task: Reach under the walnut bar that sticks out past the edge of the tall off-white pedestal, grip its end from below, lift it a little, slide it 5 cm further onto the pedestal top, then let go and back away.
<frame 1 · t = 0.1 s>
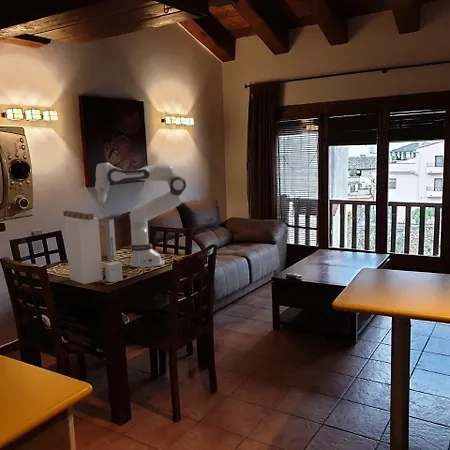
hand: (101, 208, 305), 39 cm above the table, tool pointing down, fingers open, 8 cm apart
walnut bar: (78, 217, 278), point 37 cm above the table, touching off-white pedestal
off-white pedestal: (86, 279, 280), on the table
cabinet: (110, 257, 341), on the table
small box: (114, 280, 276), on the table
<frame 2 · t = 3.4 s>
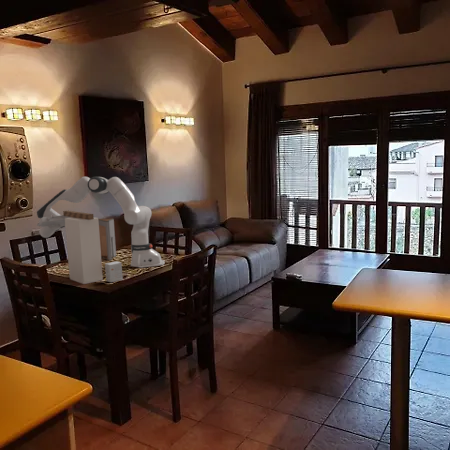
hand: (59, 215, 296), 37 cm above the table, tool pointing upward, fingers open, 8 cm apart
nothing on the table moved.
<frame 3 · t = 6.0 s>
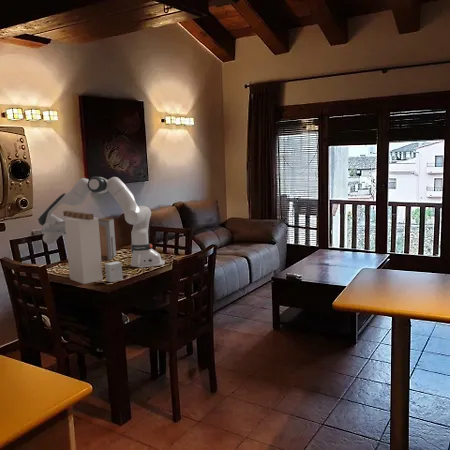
hand: (62, 220, 293), 34 cm above the table, tool pointing upward, fingers open, 8 cm apart
nothing on the table moved.
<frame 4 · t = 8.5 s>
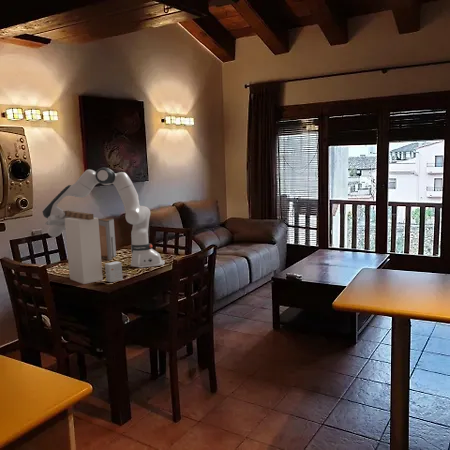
hand: (68, 212, 286), 39 cm above the table, tool pointing upward, fingers closed on walnut bar, 3 cm apart
walnut bar: (78, 217, 278), point 37 cm above the table, touching gripper, off-white pedestal
everything else where it was.
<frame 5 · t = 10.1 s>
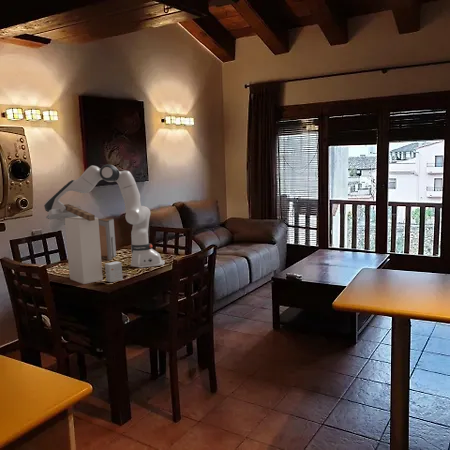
hand: (69, 206, 285), 43 cm above the table, tool pointing upward, fingers closed on walnut bar, 3 cm apart
walnut bar: (78, 214, 277), point 39 cm above the table, tilted 9°, touching gripper
everything else where it was.
when the fingers open (40 cm above the table, at t = 11.8 s): walnut bar stays where it is, resting on off-white pedestal.
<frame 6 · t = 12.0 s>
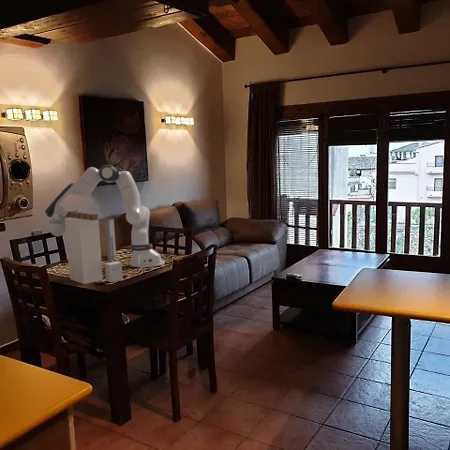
hand: (72, 211, 282), 40 cm above the table, tool pointing upward, fingers open, 5 cm apart
walnut bar: (81, 218, 274), point 37 cm above the table, touching off-white pedestal
everything else where it was.
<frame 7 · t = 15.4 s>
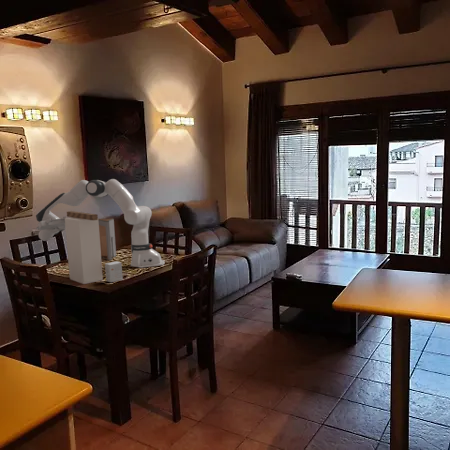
hand: (58, 218, 297), 34 cm above the table, tool pointing upward, fingers open, 8 cm apart
nothing on the table moved.
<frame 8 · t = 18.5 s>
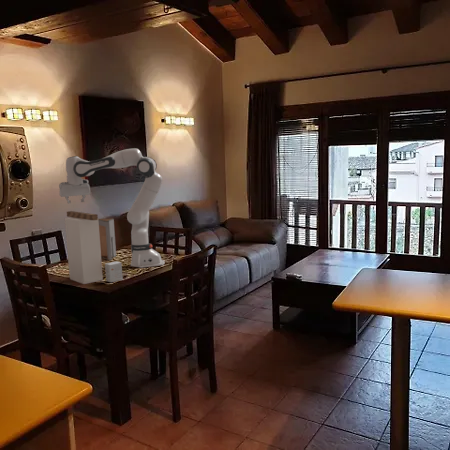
hand: (75, 202, 308), 43 cm above the table, tool pointing down, fingers open, 8 cm apart
nothing on the table moved.
at the end: walnut bar 1.0 cm from the target spot on the off-white pedestal, point 37.0 cm above the off-white pedestal's base; walnut bar tilted 0°; the gripper is holding nothing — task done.
